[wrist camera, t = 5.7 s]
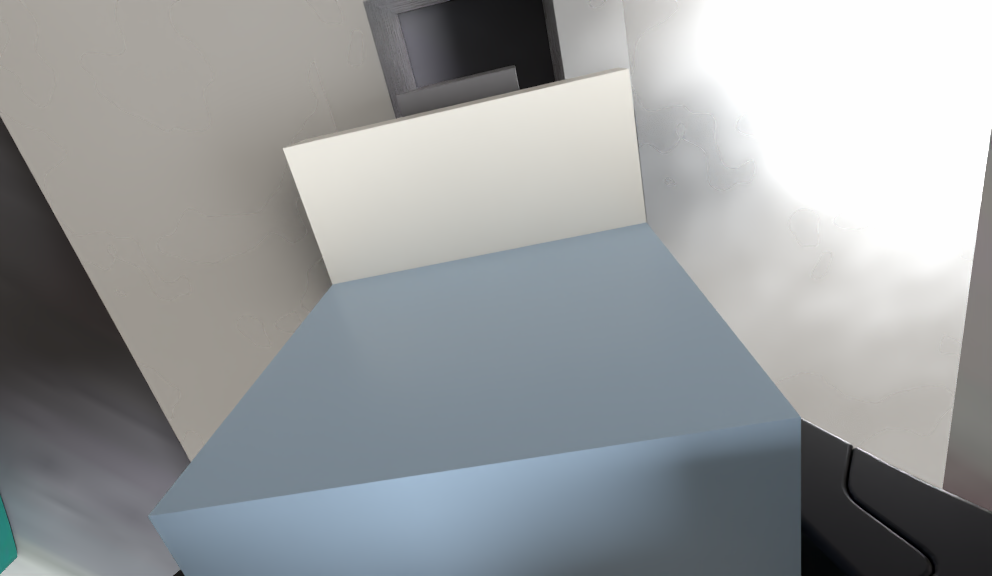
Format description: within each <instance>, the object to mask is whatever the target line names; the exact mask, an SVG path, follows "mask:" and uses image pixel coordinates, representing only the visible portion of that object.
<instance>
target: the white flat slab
mask: <svg viewBox="0 0 992 576" xmlns="http://www.w3.org/2000/svg"><path fill="white" fill-rule="evenodd" d="M446 1H450V0H0V116H1V118H2V120H3V122H4V124H5V125H6V127H7V129H8V131H9V133H10V134H11V136H12V138H13V140H14V142H15V143H16V145H17V147H18V149H19V151H20V153H21V154H22V156H23V158H24V160H25V162H26V163H27V165H28V167H29V169H30V171H31V173H32V174H33V176H34V178H35V180H36V182H37V183H38V185H39V187H40V189H41V191H42V193H43V194H44V196H45V198H46V200H47V202H48V203H49V205H50V207H51V209H52V211H53V213H54V214H55V216H56V218H57V220H58V222H59V223H60V225H61V227H62V229H63V231H64V232H65V234H66V236H67V238H68V240H69V242H70V243H71V245H72V247H73V249H74V251H75V252H76V254H77V256H78V258H79V260H80V262H81V263H82V265H83V267H84V269H85V271H86V272H87V274H88V276H89V278H90V280H91V282H92V283H93V285H94V287H95V289H96V291H97V292H98V294H99V296H100V298H101V300H102V302H103V303H104V305H105V307H106V309H107V311H108V312H109V314H110V316H111V318H112V320H113V321H114V323H115V325H116V327H117V329H118V331H119V332H120V334H121V336H122V338H123V340H124V341H125V343H126V345H127V347H128V349H129V351H130V352H131V354H132V356H133V358H134V360H135V361H136V363H137V365H138V367H139V369H140V371H141V372H142V374H143V376H144V378H145V380H146V381H147V383H148V385H149V387H150V389H151V391H152V392H153V394H154V396H155V398H156V400H157V401H158V403H159V405H160V407H161V409H162V410H163V412H164V414H165V416H166V418H167V420H168V421H169V423H170V425H171V427H172V429H173V430H174V432H175V434H176V436H177V438H178V440H179V441H180V443H181V445H182V447H183V449H184V450H185V452H186V454H187V456H188V458H189V460H190V461H191V462H192V460H193V459H194V458H195V457H196V455H197V454H198V453H199V451H200V450H201V449H202V448H203V446H204V445H205V444H206V443H207V441H208V440H209V439H210V438H211V436H212V435H213V434H214V433H215V431H216V430H217V429H218V428H219V426H220V425H221V424H222V423H223V421H224V420H225V419H226V418H227V416H228V415H229V414H230V413H231V411H232V410H233V409H234V408H235V406H236V405H237V404H238V403H239V401H240V400H241V399H242V397H243V396H244V395H245V394H246V392H247V391H248V390H249V389H250V387H251V386H252V385H253V384H254V382H255V381H256V380H257V379H258V377H259V376H260V375H261V374H262V372H263V371H264V370H265V369H266V367H267V366H268V365H269V364H270V362H271V361H272V360H273V359H274V357H275V356H276V355H277V354H278V352H279V351H280V350H281V349H282V347H283V346H284V345H285V343H286V342H287V341H288V340H289V338H290V337H291V336H292V335H293V333H294V332H295V331H296V330H297V328H298V327H299V326H300V325H301V323H302V322H303V321H304V320H305V318H306V317H307V316H308V315H309V313H310V312H311V311H312V310H313V308H314V307H315V306H316V305H317V303H318V302H319V301H320V300H321V298H322V297H323V296H324V294H325V293H326V292H327V291H328V289H329V288H330V287H331V286H332V282H331V279H330V276H329V274H328V271H327V268H326V265H325V263H324V260H323V257H322V254H321V252H320V249H319V246H318V243H317V241H316V238H315V235H314V232H313V230H312V227H311V224H310V222H309V219H308V216H307V213H306V211H305V208H304V205H303V202H302V200H301V197H300V194H299V191H298V189H297V186H296V183H295V180H294V178H293V175H292V172H291V170H290V167H289V164H288V161H287V159H286V156H285V153H284V150H283V148H285V147H287V146H290V145H292V144H295V143H297V142H300V141H302V140H305V139H310V138H314V137H318V136H323V135H327V134H331V133H336V132H340V131H344V130H349V129H353V128H357V127H362V126H366V125H370V124H375V123H379V122H383V121H388V120H392V119H396V118H401V117H402V115H401V111H400V108H399V104H398V100H397V97H396V96H397V95H400V94H403V93H406V92H409V91H412V90H415V89H417V87H416V83H415V80H414V76H413V72H412V68H411V64H410V60H409V56H408V52H407V49H406V45H405V41H404V37H403V33H402V29H401V25H400V21H399V18H398V14H399V13H403V12H407V11H411V10H415V9H418V8H422V7H426V6H430V5H434V4H438V3H442V2H446ZM542 3H543V9H544V15H545V21H546V27H547V34H548V40H549V46H550V52H551V58H552V64H553V70H554V76H555V82H557V81H561V80H565V79H570V78H574V77H578V76H583V75H587V74H591V73H596V72H600V71H604V70H609V69H613V68H617V67H618V68H627V69H629V74H630V82H631V91H632V100H633V109H634V117H635V126H636V135H637V143H638V152H639V161H640V169H641V178H642V187H643V196H644V204H645V213H646V222H647V224H648V225H649V226H650V227H651V229H652V230H653V231H654V232H655V234H656V235H657V236H658V237H659V239H660V240H661V241H662V243H663V244H664V245H665V246H666V248H667V249H668V250H669V251H670V253H671V254H672V255H673V256H674V258H675V259H676V260H677V261H678V263H679V264H680V265H681V266H682V268H683V269H684V270H685V272H686V273H687V274H688V275H689V277H690V278H691V279H692V280H693V282H694V283H695V284H696V285H697V287H698V288H699V289H700V290H701V292H702V293H703V294H704V295H705V297H706V298H707V299H708V301H709V302H710V303H711V304H712V306H713V307H714V308H715V309H716V311H717V312H718V313H719V314H720V316H721V317H722V318H723V319H724V321H725V322H726V323H727V324H728V326H729V327H730V328H731V330H732V331H733V332H734V333H735V335H736V336H737V337H738V338H739V340H740V341H741V342H742V343H743V345H744V346H745V347H746V348H747V350H748V351H749V352H750V353H751V355H752V356H753V357H754V359H755V360H756V361H757V362H758V364H759V365H760V366H761V367H762V369H763V370H764V371H765V372H766V374H767V375H768V376H769V377H770V379H771V380H772V381H773V382H774V384H775V385H776V386H777V388H778V389H779V390H780V391H781V393H782V394H783V395H784V396H785V398H786V399H787V400H788V401H789V403H790V404H791V405H792V406H793V408H794V409H795V410H796V411H797V413H798V414H799V415H800V417H801V418H803V419H805V420H807V421H808V422H810V423H812V424H814V425H816V426H818V427H820V428H822V429H824V430H826V431H828V432H829V433H831V434H833V435H835V436H837V437H839V438H841V439H843V440H845V441H847V442H849V443H850V444H852V445H853V449H854V448H855V447H858V448H860V449H862V450H864V451H866V452H868V453H870V454H872V455H874V456H876V457H878V458H879V459H881V460H883V461H885V462H887V463H889V464H891V465H893V466H895V467H897V468H899V469H901V470H903V471H905V472H907V473H909V474H911V475H913V476H915V477H917V478H919V479H921V480H923V481H925V482H927V483H929V484H932V485H934V486H936V487H938V488H940V489H942V487H943V480H944V472H945V465H946V457H947V450H948V442H949V435H950V427H951V420H952V413H953V405H954V398H955V390H956V383H957V375H958V368H959V360H960V353H961V346H962V338H963V331H964V323H965V316H966V308H967V301H968V293H969V286H970V279H971V271H972V264H973V256H974V249H975V241H976V234H977V226H978V219H979V212H980V204H981V197H982V189H983V182H984V174H985V167H986V159H987V152H988V145H989V137H990V130H991V122H992V0H542Z"/></svg>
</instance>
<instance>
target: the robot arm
mask: <svg viewBox="0 0 992 576" xmlns="http://www.w3.org/2000/svg"><path fill="white" fill-rule="evenodd" d="M173 576H185V575H184V574H183V572H182V571H181V570H179V571H178V572H177V573H176V574H175V575H173ZM801 576H992V512H991V511H989V510H987V509H984V508H982V507H980V506H978V505H976V504H973V503H971V502H969V501H967V500H965V499H962V498H960V497H958V496H956V495H954V494H951V493H949V492H947V491H945V490H943V489H940V488H938V487H936V486H934V485H932V484H929V483H927V482H925V481H923V480H921V479H919V478H917V477H915V476H913V475H911V474H909V473H907V472H905V471H903V470H901V469H899V468H897V467H895V466H893V465H891V464H889V463H887V462H885V461H883V460H881V459H879V458H878V457H876V456H874V455H872V454H870V453H868V452H866V451H864V450H862V449H860V448H858V447H855V448H854V449H853V445H852V444H850V443H849V442H847V441H845V440H843V439H841V438H839V437H837V436H835V435H833V434H831V433H829V432H828V431H826V430H824V429H822V428H820V427H818V426H816V425H814V424H812V423H810V422H808V421H807V420H805V419H803V418H801Z"/></svg>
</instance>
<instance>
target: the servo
mask: <svg viewBox="0 0 992 576" xmlns="http://www.w3.org/2000/svg"><path fill="white" fill-rule="evenodd" d="M396 97H397V100H398V104H399V108H400V111H401V115H402V117H401V118H396V119H392V120H388V121H383V122H379V123H375V124H370V125H366V126H362V127H357V128H353V129H349V130H344V131H340V132H336V133H331V134H327V135H323V136H318V137H314V138H310V139H305V140H302V141H300V142H297V143H295V144H292V145H290V146H287V147H285V148H283V150H284V153H285V156H286V159H287V161H288V164H289V167H290V170H291V172H292V175H293V178H294V180H295V183H296V186H297V189H298V191H299V194H300V197H301V200H302V202H303V205H304V208H305V211H306V213H307V216H308V219H309V222H310V224H311V227H312V230H313V232H314V235H315V238H316V241H317V243H318V246H319V249H320V252H321V254H322V257H323V260H324V263H325V265H326V268H327V271H328V274H329V276H330V279H331V282H332V286H331V287H330V288H329V289H328V291H327V292H326V293H325V294H324V296H323V297H322V298H321V300H320V301H319V302H318V303H317V305H316V306H315V307H314V308H313V310H312V311H311V312H310V313H309V315H308V316H307V317H306V318H305V320H304V321H303V322H302V323H301V325H300V326H299V327H298V328H297V330H296V331H295V332H294V333H293V335H292V336H291V337H290V338H289V340H288V341H287V342H286V343H285V345H284V346H283V347H282V349H281V350H280V351H279V352H278V354H277V355H276V356H275V357H274V359H273V360H272V361H271V362H270V364H269V365H268V366H267V367H266V369H265V370H264V371H263V372H262V374H261V375H260V376H259V377H258V379H257V380H256V381H255V382H254V384H253V385H252V386H251V387H250V389H249V390H248V391H247V392H246V394H245V395H244V396H243V397H242V399H241V400H240V401H239V403H238V404H237V405H236V406H235V408H234V409H233V410H232V411H231V413H230V414H229V415H228V416H227V418H226V419H225V420H224V421H223V423H222V424H221V425H220V426H219V428H218V429H217V430H216V431H215V433H214V434H213V435H212V436H211V438H210V439H209V440H208V441H207V443H206V444H205V445H204V446H203V448H202V449H201V450H200V451H199V453H198V454H197V455H196V457H195V458H194V459H193V460H192V462H191V463H190V464H189V465H188V467H187V468H186V469H185V470H184V472H183V473H182V474H181V475H180V477H179V478H178V479H177V480H176V482H175V483H174V484H173V485H172V487H171V488H170V489H169V490H168V492H167V493H166V494H165V495H164V497H163V498H162V499H161V500H160V502H159V503H158V504H157V505H156V507H155V508H154V509H153V511H152V512H151V513H150V514H149V516H148V517H149V519H150V521H151V522H152V524H153V525H154V527H155V529H156V530H157V532H158V533H159V535H160V537H161V538H162V540H163V542H164V543H165V545H166V546H167V548H168V550H169V551H170V553H171V554H172V556H173V558H174V559H175V561H176V562H177V564H178V566H179V567H180V569H181V571H182V572H183V574H184V575H185V576H801V417H800V415H799V414H798V413H797V411H796V410H795V409H794V408H793V406H792V405H791V404H790V403H789V401H788V400H787V399H786V398H785V396H784V395H783V394H782V393H781V391H780V390H779V389H778V388H777V386H776V385H775V384H774V382H773V381H772V380H771V379H770V377H769V376H768V375H767V374H766V372H765V371H764V370H763V369H762V367H761V366H760V365H759V364H758V362H757V361H756V360H755V359H754V357H753V356H752V355H751V353H750V352H749V351H748V350H747V348H746V347H745V346H744V345H743V343H742V342H741V341H740V340H739V338H738V337H737V336H736V335H735V333H734V332H733V331H732V330H731V328H730V327H729V326H728V324H727V323H726V322H725V321H724V319H723V318H722V317H721V316H720V314H719V313H718V312H717V311H716V309H715V308H714V307H713V306H712V304H711V303H710V302H709V301H708V299H707V298H706V297H705V295H704V294H703V293H702V292H701V290H700V289H699V288H698V287H697V285H696V284H695V283H694V282H693V280H692V279H691V278H690V277H689V275H688V274H687V273H686V272H685V270H684V269H683V268H682V266H681V265H680V264H679V263H678V261H677V260H676V259H675V258H674V256H673V255H672V254H671V253H670V251H669V250H668V249H667V248H666V246H665V245H664V244H663V243H662V241H661V240H660V239H659V237H658V236H657V235H656V234H655V232H654V231H653V230H652V229H651V227H650V226H649V225H648V224H647V222H646V213H645V204H644V196H643V187H642V178H641V169H640V161H639V152H638V143H637V135H636V126H635V117H634V109H633V100H632V91H631V82H630V74H629V69H627V68H618V67H617V68H613V69H609V70H604V71H600V72H596V73H591V74H587V75H583V76H578V77H574V78H570V79H565V80H561V81H557V82H552V83H548V84H544V85H539V86H535V87H531V88H526V89H522V90H520V89H519V84H518V79H517V74H516V68H515V65H512V66H508V67H503V68H499V69H495V70H491V71H486V72H482V73H478V74H474V75H470V76H465V77H461V78H457V79H453V80H448V81H444V82H440V83H436V84H432V85H427V86H424V87H421V88H418V89H415V90H412V91H409V92H406V93H403V94H400V95H397V96H396Z"/></svg>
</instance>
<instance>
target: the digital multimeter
mask: <svg viewBox="0 0 992 576" xmlns="http://www.w3.org/2000/svg"><path fill="white" fill-rule="evenodd" d="M16 558H17V550H16V546H15V542H14V539H13V535H12V531H11V528H10V524H9V521H8V518H7V515H6V512H5V509H4V505H3V502H2V499H1V496H0V574H1V573H2V572H3V571H4V570H5V569H6V568H7V567H8V566H9V565H10V564H11V563H12V562H13V561H14V560H15V559H16Z"/></svg>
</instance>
